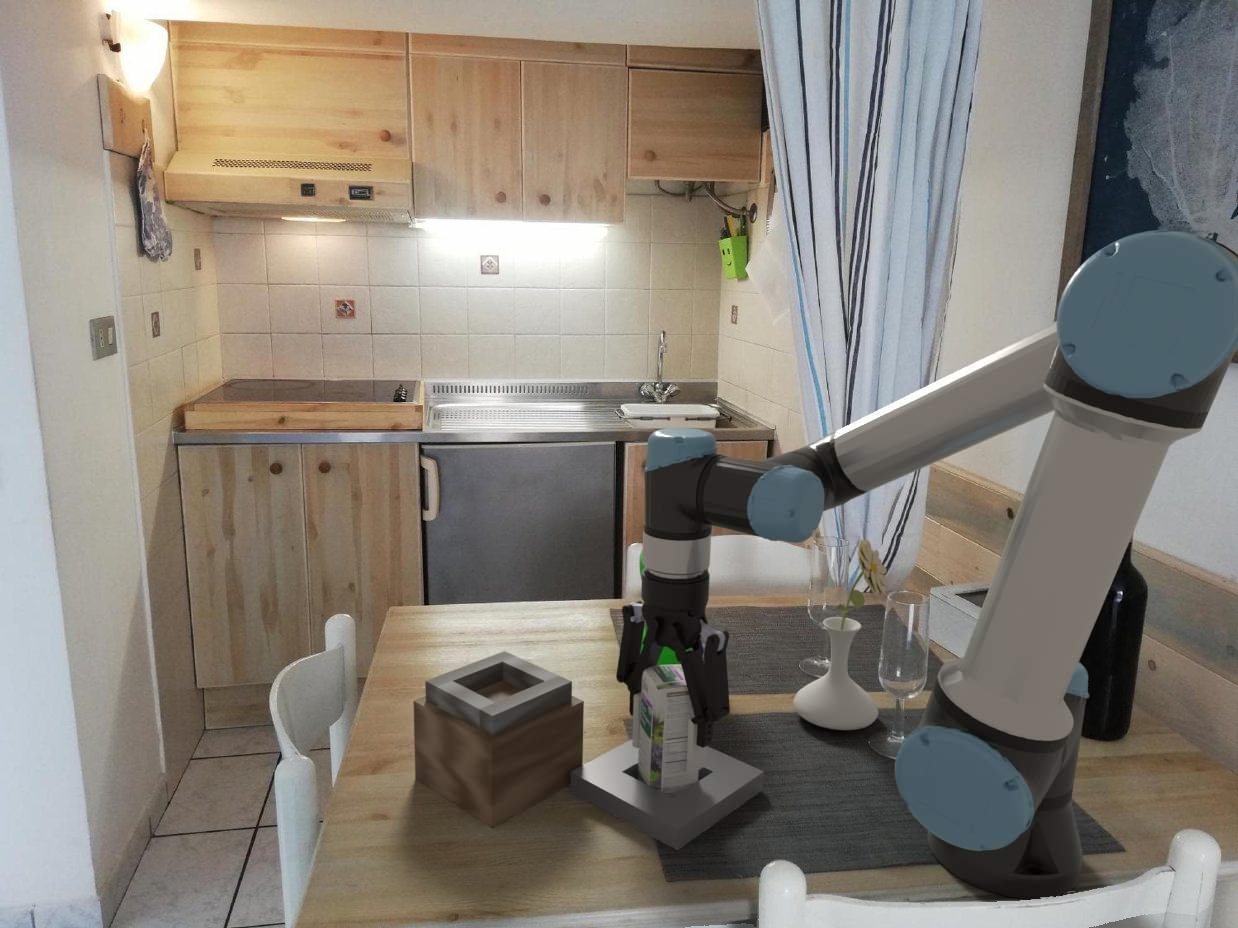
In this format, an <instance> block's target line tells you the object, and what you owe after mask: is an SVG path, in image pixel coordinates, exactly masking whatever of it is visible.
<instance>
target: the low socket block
mask: <svg viewBox="0 0 1238 928" xmlns="http://www.w3.org/2000/svg"><path fill="white" fill-rule="evenodd" d="M638 755H639V747H638V748H636V747H633V746H632V738H631V739H630V740H627V741H626V742H624V743H622V744H620V745H618V746H617V747H614V748H613V749H611V750H609V751H607V752H605V753H603V754H601V755H599V756H598V757H595V758H594V759H593V760H590V761H588V762H587V763H585V764H583V766H581V767H579V768H577V769H575V770H573V771H571V781H570V785H569V786H570V789H569V790H570V793H572V794H575V795H577V796H578V797H580V798H582V799H583V800H585V801H587V802H588V803H591V804H592V805H594V806H595V807H598V808H600V809H602V810H604V812H607V813H609V814H611V815H612V816H614V817H616V818H618V819H619V820H621V821H623V822H625V823H626V824H628V825H630V826H632V827H633V828H635V827H636V828H635V829H638V830H639V831H641V832H642V833H644V834H646V835H648V836H650V837H652V838H653V839H655V840H657V839H658V840H660V841H662V842H664V843H665V844H664V843H663V844H664V845H666V844H667V845H670V846H671V847H673V848H674V849H673V848H672V849H673V850H675V849H679V848H680V847H682V846H683V845H684V844H686V843H687V842H689V840H692V839H693V838H694V837H696V836H697V835H698V834H699V833H701V832H703V831H704V830H705V829H707V828H708V827H710V826H712V824H715V823H716V822H717V821H719V820H720V819H722V818H723V817H725V816H726V815H727V814H729V813H730V812H731V811H733V810H734V809H735V808H737V807H738V806H739V805H741V804H743V803H744V802H745V801H747V800H749V799H750V798H752V797H753V798H754V796H755V795H756V796H757V795H758V794H757V793H759V792H760V793H762V792H763V791H762V790H764V773H765V771H763V770H761V769H759V768H756V767H755V766H752V765H750V764H748V763H746V762H743V761H741V760H738V759H737V758H735V757H732V756H730V755H728V754H726V753H723V752H722V751H719V750H717V749H715V748H713V747H710V746H709V745H707V757H706V766H704V767H703V768H701V769H699V773H698V782H696V783H695V784H693V785H692V786H690V787H689V788H687V789H685V790H684V791H682V792H681V793H679V794H678V795H676V796H674V797H673V798H672V797H670V796H668V795H666V794H664V793H662V792H660V791H658V790H656V789H654V788H652V787H650V786H648V785H646V784H645V783H643V782H641V781H639V780H638ZM761 791H762V792H761ZM760 793H759V794H760ZM756 796H755V797H756ZM753 798H752V799H753ZM750 800H751V799H750ZM750 800H749V801H750ZM747 802H748V801H747ZM743 805H744V804H743ZM737 809H738V808H737ZM733 812H734V811H733ZM730 814H731V813H730ZM730 814H729V815H730ZM727 816H728V815H727ZM727 816H726V817H727ZM726 817H725V818H726ZM723 819H724V818H723ZM723 819H722V820H723ZM720 821H721V820H720ZM720 821H719V822H720ZM716 824H717V823H716ZM716 824H715V825H716ZM712 827H713V826H712ZM710 828H711V827H710ZM703 833H704V832H703ZM696 838H697V837H696ZM658 840H657V841H658ZM693 840H694V839H693ZM693 840H692V841H693ZM660 841H659V842H660ZM662 842H661V843H662ZM689 843H690V842H689ZM667 845H666V846H667ZM686 845H687V844H686ZM671 847H670V848H671ZM683 847H684V846H683ZM683 847H682V848H683ZM679 850H680V849H679Z"/></svg>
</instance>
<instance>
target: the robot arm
mask: <svg viewBox="0 0 1238 928" xmlns="http://www.w3.org/2000/svg"><path fill="white" fill-rule="evenodd" d="M1066 284H1067V285H1066V286H1065V288H1064V290H1063V292H1062V294H1061V297H1060V300H1059V304H1058V307H1057V312H1056V313H1057V315H1056V320H1055V321H1054V322H1052V323H1049V324H1048V325H1046V326H1044V327H1042V328H1040V329H1038V330H1036V331H1034V332H1031V333H1030V334H1028V335H1026V336H1023V338H1020V339H1018V340H1016V341H1014V342H1012V343H1010V344H1008V345H1006V346H1004V347H1002V348H1000V349H998V350H996V351H994V352H992V353H990V354H988V355H986V356H984V357H982V358H980V359H978V360H976V361H974V362H971V363H970V364H967V365H966V366H964V367H963V368H960V369H958V370H956V371H955V372H952V373H951V374H948V375H945V376H944V377H942V378H939V379H938V380H936V381H934V382H932V383H930V384H929V385H926V386H923V388H920V389H918V390H916V391H914V392H912V393H910V394H908V395H906V396H904V397H902V398H900V399H898V400H895V401H894V402H893V403H890V404H889V405H886V406H884V407H882V408H880V409H878V410H876V411H874V412H872V413H870V414H869V415H866V416H864V417H862V418H861V419H858V420H856V421H854V422H853V423H850V424H849V425H846V426H845V427H842V428H840V429H838V430H837V431H835V432H832V433H829V434H828V435H825V436H824V437H821V438H820V439H817V440H815V441H813V442H811V443H810V444H807V445H805V446H803V447H800V448H797V449H795V450H792V451H788V452H784V453H780V454H778V455H775V456H772V457H767V458H765V459H763V460H752V459H744V458H738V457H731V456H727V455H723V454H720V453H719V454H718V448H717V439H716V436H715V434H713V433H712V432H710V431H706V430H704V429H698V428H693V427H692V428H689V427H668V428H667V427H666V428H662V429H658V430H655V431H654V432H652V433H651V434H650V435H649V437H648V438H647V444H646V456H645V457H646V459H645V465H644V466H645V467H644V468H643V473H644V521H643V533H642V549H643V551H642V550H641V551H642V563H643V565H644V566H645V568H644V569H643V570H642V580H641V593H640V596H641V600H642V601H641V600H635V601H632V602H630V603H628V604H625V605H623V606H622V608H621V613H622V621H623V626H622V627H623V628H622V633H621V642H620V647H619V648H620V649H619V655H618V661H617V670H616V675H615V676H616V677H615V678H616V681H617V682H618V683H620V684H622V683H624V685H626V687H627V691H628V692H629V708H628V709H629V714H630V715H629V716H632V738H631V739H632V746H633V747H636V748H638V747H639V731H640V710H641V690H642V674H643V671H644V670H645V669H647V668H649V667H654V666H656V665H657V662H658V660H659V658H660V655H661V653H662V651H663V648H664V647H668V648H670V649H671V650H672V651H675V655H676V659H677V661H678V662H680V663H681V666H682V669H683V673H684V677H685V681H686V685H687V689H688V692H689V696H690V700H691V704H692V708H693V711H694V715H695V716H693V717H691V718H689V721H688V743H687V765H686V772H687V773H689V774H693V773H695V772H696V771H698V770H699V769H701V768H703V767H704V766H706V757H707V746H709V745H710V744H712V742H713V738H714V736H713V735H714V733H713V732H714V723H715V722H718V721H720V720H721V719H723V718H725V717H726V716H729V714H730V712H731V706H730V694H729V693H730V692H729V691H730V690H729V681H728V680H729V679H728V675H729V674H728V663H727V648H728V643H729V641H730V640H729V639H730V633H729V632H728V630H727V629H721V630H717V629H715V628H714V627H712V626H710V625H709V623H708V619H707V616H706V607H707V605H708V602H709V595H710V579H711V578H710V575H711V574H710V572H709V570H708V571H707V568H708V569H709V568H710V565H711V546H712V532H713V531H712V530H713V526H714V527H718V528H723V529H725V530H730V531H734V532H737V533H738V532H740V533H743V534H747V535H751V536H755V537H760V538H762V539H764V540H769V541H771V542H777V541H778V542H785V543H793V544H797V543H803V542H806V541H807V540H809V539H811V537H812V536H813V533H814V531H815V530H817V529H818V526H819V525H820V523H821V520H822V517H823V513H824V512H825V511H829V510H832V509H835V508H836V507H839V506H842V505H844V504H847V503H848V502H849V501H851V500H853V499H855V498H859V497H860V496H862V495H864V494H866V493H868V492H871V491H873V490H874V489H877V488H880V487H882V486H885V485H886V484H890V483H892V482H894V481H896V480H898V479H900V478H903V477H905V476H908V475H909V474H912V473H915V472H917V471H919V470H921V469H923V468H926V467H928V466H931V465H933V464H935V463H938V462H940V461H941V460H944V459H947V458H949V457H951V456H953V455H955V454H958V453H960V452H963V451H965V450H967V449H969V448H971V447H974V446H976V445H978V444H981V443H983V442H985V441H988V440H989V439H992V438H994V437H997V436H999V435H1001V434H1004V433H1006V432H1008V431H1010V430H1013V429H1015V428H1017V427H1020V426H1023V425H1025V424H1027V423H1030V422H1031V421H1033V420H1036V419H1038V418H1040V417H1044V416H1045V415H1048V414H1049V413H1052V412H1054V414H1053V415H1052V418H1051V421H1050V424H1049V427H1048V429H1047V433H1046V434H1045V438H1044V440H1043V443H1042V445H1041V448H1040V451H1039V454H1038V456H1037V458H1036V459H1037V460H1036V462H1035V464H1034V467H1033V470H1032V473H1031V476H1030V477H1029V481H1028V483H1027V486H1026V488H1025V490H1024V494H1023V496H1022V500H1021V502H1020V505H1019V507H1018V510H1017V512H1016V515H1015V518H1014V522H1013V524H1012V527H1011V529H1010V532H1009V534H1008V538H1007V540H1006V542H1005V545H1004V548H1003V549H1002V553H1001V556H1000V559H999V562H998V564H997V566H996V570H995V571H994V574H993V577H992V581H991V583H990V585H989V588H988V591H987V594H986V597H985V599H984V601H983V603H982V607H981V609H980V613H978V614H979V615H978V617H977V621H976V623H975V624H974V625H975V626H974V627H973V631H972V634H971V636H970V639H969V642H968V644H967V647H966V650H965V651H964V655H963V657H959V658H956V659H953V660H950V661H947V662H945V663H944V664H943V665H941V667H940V669H939V671H938V673H937V675H936V679H935V682H934V683H933V687H932V688H931V693H930V695H929V698H928V700H927V704H926V707H925V709H924V712H923V715H922V716H921V719H920V721H919V723H918V725H917V727H916V729H914V730H912V731H911V732H909V734H906V737H905V738H904V739H903V740H902V742H901V745H900V747H899V749H898V751H897V755H896V758H895V762H894V776H895V783H896V786H897V790H898V792H899V794H900V796H901V797H902V799H903V800H904V802H905V803H906V805H907V808H908V809H907V810H909V811H910V813H911V814H912V816H913V817H914V818H915V819H916V820H917V821H918V822H919V823H920V824H921V825H922V827H924V828H925V829H926V830H927V838H926V839H927V843H928V844H927V845H928V846H929V849H930V850H931V852H932V854H933V856H934V857H935V858H936V859H937V861H939V863H940V864H942V866H944V867H945V869H947V870H949V872H951V873H953V874H954V875H955V876H956V877H958V878H960V879H962V880H963V881H966V882H967V883H968V884H972V885H973V886H976V887H977V888H980V889H983V890H985V891H988V892H991V893H994V894H996V895H997V894H998V895H1001V896H1006V897H1010V898H1015V899H1023V900H1024V899H1025V900H1037V899H1036V898H1040V897H1050V896H1057V897H1059V896H1058V895H1060V896H1063V895H1065V894H1067V893H1069V892H1071V891H1072V890H1073V889H1074V888H1075V887H1076V886H1077V884H1078V883H1079V881H1080V878H1081V873H1082V866H1083V859H1084V858H1083V856H1084V855H1083V849H1082V844H1081V839H1080V835H1079V831H1078V827H1077V826H1078V825H1077V821H1076V818H1075V817H1076V816H1075V813H1074V808H1073V803H1072V798H1073V792H1074V791H1073V790H1074V786H1075V777H1076V771H1077V764H1078V756H1079V751H1080V744H1081V738H1082V730H1083V723H1084V716H1085V707H1086V703H1087V699H1089V697H1090V694H1089V692H1088V691H1089V690H1088V689H1089V688H1088V687H1089V682H1088V681H1089V674H1088V671H1087V669H1086V668H1085V666H1084V665H1083V664H1082V663H1081V662H1080V660H1081V658H1082V655H1083V652H1084V650H1085V648H1086V645H1087V644H1088V643H1087V642H1088V640H1089V638H1090V636H1091V633H1092V631H1093V628H1094V626H1095V624H1096V622H1097V619H1098V617H1099V615H1100V612H1101V610H1102V607H1103V605H1104V603H1105V600H1106V598H1107V595H1108V594H1109V591H1110V588H1111V586H1112V583H1113V582H1114V578H1115V577H1116V574H1117V571H1118V570H1119V568H1120V565H1121V562H1122V560H1123V558H1124V555H1125V553H1126V551H1127V548H1128V547H1129V543H1130V541H1131V538H1132V536H1133V534H1134V532H1135V530H1136V527H1137V524H1138V521H1139V520H1140V517H1141V515H1142V513H1143V510H1144V508H1145V505H1146V503H1147V500H1148V498H1149V496H1150V494H1151V492H1152V490H1153V487H1154V484H1155V482H1156V480H1157V477H1158V475H1159V472H1160V470H1161V468H1162V466H1163V463H1164V460H1165V458H1166V456H1167V454H1168V451H1169V449H1170V446H1172V445H1173V444H1175V443H1176V442H1177V441H1180V440H1182V439H1185V438H1188V437H1189V436H1193V435H1194V434H1197V433H1199V432H1201V430H1202V428H1203V426H1204V425H1205V422H1206V419H1207V417H1208V415H1209V413H1210V410H1211V407H1212V406H1213V403H1214V401H1215V399H1216V397H1217V394H1218V392H1219V390H1220V388H1221V386H1222V382H1223V380H1224V378H1225V377H1226V373H1227V371H1228V369H1229V367H1230V364H1231V362H1232V360H1233V357H1234V356H1235V354H1236V353H1237V352H1238V253H1236V251H1234V250H1233V249H1231V248H1229V247H1228V246H1226V244H1224V243H1221V242H1219V241H1216V240H1214V239H1209V238H1207V237H1204V236H1202V235H1201V236H1200V235H1196V234H1194V233H1193V234H1192V233H1191V232H1189V231H1186V230H1185V231H1177V230H1167V229H1157V230H1154V229H1153V230H1148V231H1143V232H1139V233H1133V234H1129V235H1127V236H1125V237H1122V238H1120V239H1118V240H1116V241H1113V242H1112V243H1110V244H1108V245H1106V246H1104V247H1103V248H1101V249H1099V250H1097V252H1095V253H1094V254H1092V255H1091V256H1090V257H1088V258H1087V259H1086V260H1085V261H1084V262H1083V263H1082V264H1081V265H1080V266H1079V267H1078V268H1077V269H1076V271H1075V272H1074V273H1073V275H1072V276H1071V277H1070V279H1069V281H1068V282H1067V283H1066ZM646 624H647V626H648V630H647V633H646V635H645V638H644V640H643V643H642V639H643V633H644V627H645V626H646ZM702 640H703V642H702ZM642 644H643V645H644V646H643V648H642V651H641V646H642ZM691 647H692V648H691ZM689 648H691V650H689V651H687V652H686V650H687V649H689ZM640 652H641V653H640ZM1062 894H1063V895H1062Z"/></svg>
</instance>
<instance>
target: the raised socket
mask: <svg viewBox="0 0 1238 928" xmlns="http://www.w3.org/2000/svg"><path fill="white" fill-rule="evenodd" d="M424 683H425V684H424V685H425V695H424V696H422V697H419V698H417V699H414V700H413V730H414V731H413V732H414V733H413V734H414V736H413V737H414V738H413V740H414V771H415V772H414V775H415V778H414V779H416V780H417V781H419V782H421V783H422V784H423V785H425V786H427V787H428V788H430V789H431V790H433V791H434V792H436V793H438V794H439V795H440V796H442V797H444V799H447V800H448V801H449V802H452V803H453V804H455V806H458V807H459V808H461V809H462V810H464V811H466V812H467V813H468V814H470V815H471V816H473V817H475V818H476V819H477V820H479V821H481V822H482V823H484V824H486V825H487V826H489V827H490V828H494V827H496V826H498V825H499V824H501V823H503V822H505V821H506V820H508V819H510V818H512V817H514V816H516V815H517V814H518V815H519V814H520V813H522V812H523V811H525V810H527V809H528V808H530V807H533V806H534V805H536V804H537V803H539V802H541V801H544V800H545V799H547V798H549V797H550V796H553V795H554V794H556V793H558V792H560V791H561V790H564V789H565V788H567V787H569V786H570V781H571V771H573V770H575V769H577V768H579V767H581V766H583V765H584V764H583V761H584V760H583V758H584V755H583V754H584V752H583V750H584V707H585V706H584V705H585V703H584V702H585V701H584V700H582V699H580V698H578V697H575V696H573V693H572V692H573V681H572V680H570V679H568V678H565V677H564V676H561V675H558V674H557V673H555V672H553V671H550V670H548V669H545V668H543V667H541V666H538V665H537V664H534V663H532V662H530V661H528V660H526V659H523V658H521V657H518V656H516V655H514V654H512V653H510V652H507V651H506V650H503V651H501V652H498V653H495V654H494V655H490V656H488V657H485V658H482V659H479V660H478V661H477V660H476V661H475V662H472V663H469V664H466V665H463V666H461V667H458V668H456V669H454V670H450V671H448V672H446V673H443V674H439V675H438V676H434V677H431V678H429V679H427V680H425V682H424Z"/></svg>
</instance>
